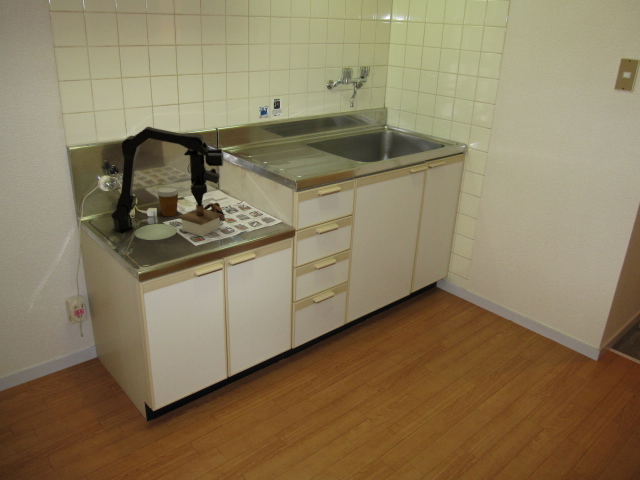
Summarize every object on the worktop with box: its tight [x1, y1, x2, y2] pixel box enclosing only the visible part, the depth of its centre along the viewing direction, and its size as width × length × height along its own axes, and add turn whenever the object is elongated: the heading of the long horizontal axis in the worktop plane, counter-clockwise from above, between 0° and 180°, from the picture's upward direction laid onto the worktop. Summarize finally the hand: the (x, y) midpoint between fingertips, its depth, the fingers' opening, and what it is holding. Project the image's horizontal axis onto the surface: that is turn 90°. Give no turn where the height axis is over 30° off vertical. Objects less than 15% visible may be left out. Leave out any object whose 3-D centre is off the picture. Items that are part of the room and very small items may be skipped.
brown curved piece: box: [203, 202, 226, 222], centre depth 243 cm, size 12×10×8 cm
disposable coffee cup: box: [156, 185, 180, 217], centre depth 243 cm, size 10×10×12 cm
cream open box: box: [180, 217, 221, 237], centre depth 229 cm, size 11×11×6 cm
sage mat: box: [134, 223, 178, 241], centre depth 226 cm, size 17×17×1 cm
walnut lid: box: [177, 203, 224, 225], centre depth 227 cm, size 13×13×5 cm
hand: (199, 202), depth 225 cm, fingers open, 9 cm apart
